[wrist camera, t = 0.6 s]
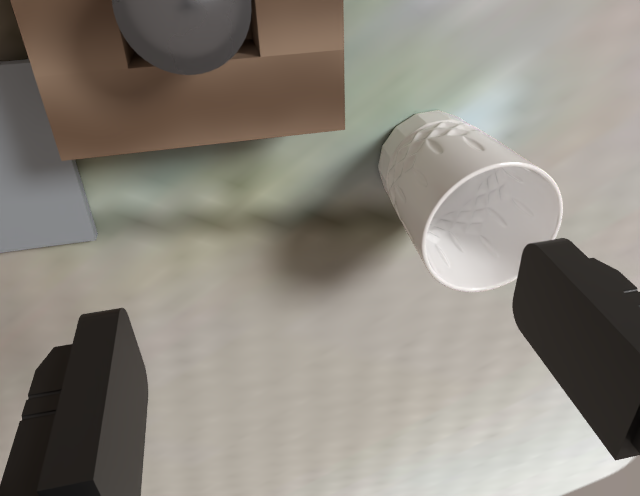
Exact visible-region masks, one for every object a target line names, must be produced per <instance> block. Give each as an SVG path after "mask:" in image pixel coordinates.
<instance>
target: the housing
mask: <svg viewBox="0 0 640 496" xmlns="http://www.w3.org/2000/svg"><path fill="white" fill-rule="evenodd" d="M10 1H11V4H12V7H13V11H14V14H15V17H16V20H17V23H18V26H19V29H20V33H21V36H22V39H23V42H24V45H25V48H26V51H27V54H28V58H29V61H30V64H31V67H32V70H33V73H34V76H35V79H36V83H37V86H38V89H39V92H40V95H41V98H42V101H43V104H44V108H45V111H46V114H47V117H48V120H49V123H50V126H51V130H52V133H53V136H54V139H55V142H56V145H57V148H58V151H59V155H60V158H61V161H66V160H75V159H84V158H93V157H102V156H111V155H120V154H129V153H138V152H147V151H156V150H165V149H174V148H183V147H192V146H201V145H210V144H219V143H228V142H237V141H246V140H255V139H264V138H273V137H282V136H291V135H300V134H309V133H319V132H328V131H337V130H345V94H344V21H343V0H251V10H252V11H251V21H250V26H249V30H248V33H247V36H246V38H245V40H244V42H243V44H242V46H241V47H240V49H239V50H238V51H237V53H236V54H235V55H234V56H233V57H232V58H231V59H230V60H229V61H227V62H226V63H225V64H223V65H222V66H220V67H219V68H217V69H214V70H212V71H210V72H206V73H203V74H197V75H181V74H175V73H170V72H167V71H164V70H162V69H159V68H157V67H155V66H153V65H152V64H150V63H149V62H147V61H146V60H144V59H143V58H142V57H141V56H140V55H138V54H137V53H136V52H135V51H134V49H133V48H132V47H131V46H130V45H129V43H128V42H127V41H126V39H125V38H124V36H123V34H122V33H121V31H120V29H119V26H118V24H117V22H116V18H115V15H114V12H113V6H112V0H10Z"/></svg>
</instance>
